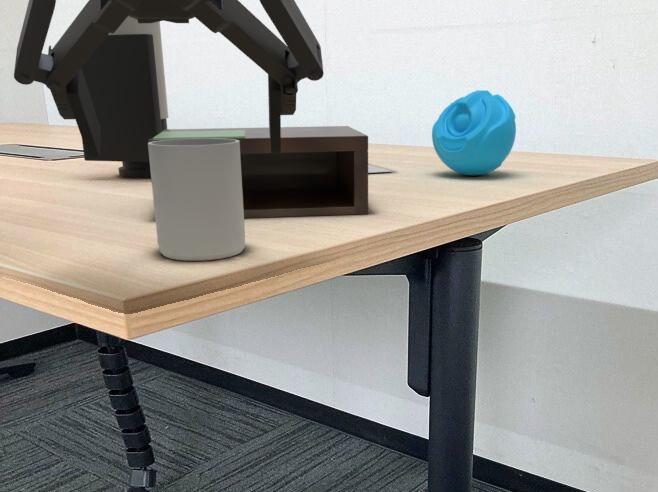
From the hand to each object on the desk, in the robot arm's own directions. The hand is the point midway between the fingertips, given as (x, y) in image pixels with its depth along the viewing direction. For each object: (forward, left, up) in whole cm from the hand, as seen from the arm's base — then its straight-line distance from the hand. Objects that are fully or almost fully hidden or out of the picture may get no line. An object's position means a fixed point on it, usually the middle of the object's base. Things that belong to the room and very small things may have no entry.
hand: (186, 141), depth 57 cm
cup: (0, +4, -9) cm, 10 cm away
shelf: (+6, +26, -9) cm, 28 cm away
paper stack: (+12, +62, -9) cm, 63 cm away
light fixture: (-11, +56, -9) cm, 58 cm away
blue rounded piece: (+37, +47, -9) cm, 60 cm away
